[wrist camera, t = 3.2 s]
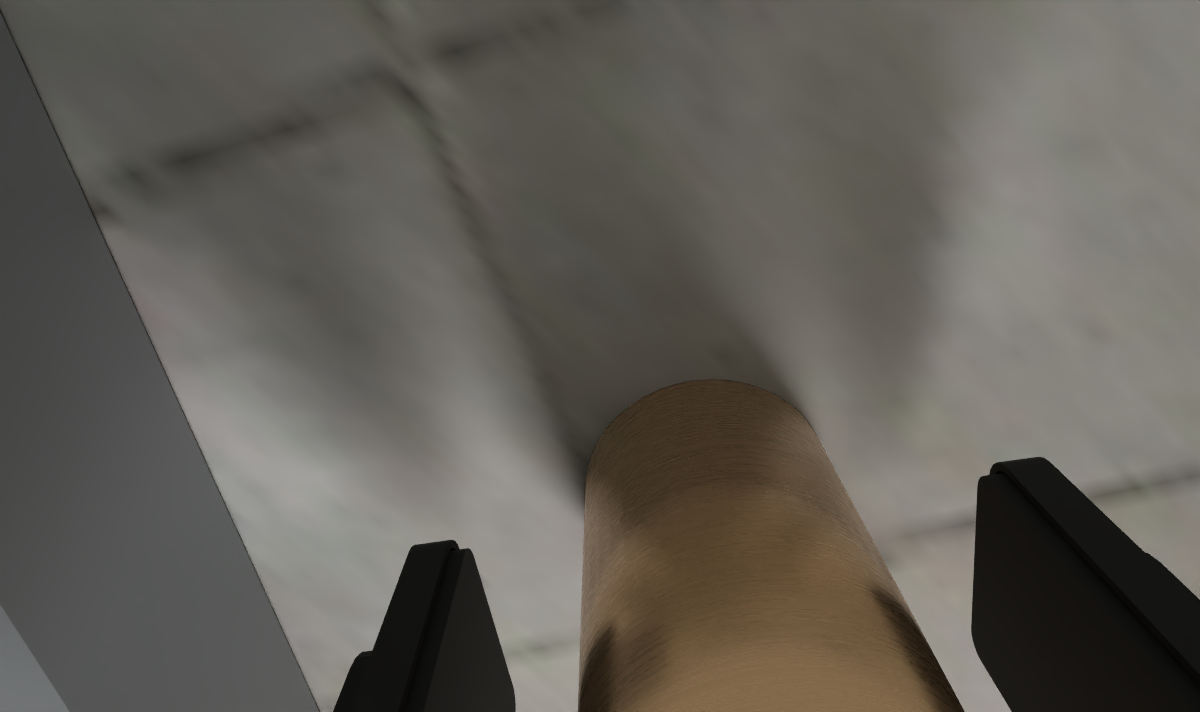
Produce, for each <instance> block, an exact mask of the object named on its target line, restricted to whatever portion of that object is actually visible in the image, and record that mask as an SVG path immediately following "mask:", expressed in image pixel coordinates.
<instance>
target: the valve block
mask: <svg viewBox="0 0 1200 712" xmlns="http://www.w3.org/2000/svg"><path fill="white" fill-rule="evenodd" d="M0 712H319V710H318V708H317V705H316V703H315V701H314V699H313V697H312V694H311V692H310V690H309V688H308V686H307V684H306V681H305V679H304V677H303V675H302V673H301V670H300V668H299V666H298V664H297V662H296V659H295V657H294V655H293V653H292V651H291V648H290V646H289V644H288V642H287V640H286V637H285V635H284V633H283V631H282V629H281V627H280V624H279V622H278V620H277V618H276V616H275V613H274V611H273V609H272V607H271V605H270V602H269V600H268V598H267V596H266V594H265V591H264V589H263V587H262V585H261V583H260V580H259V578H258V576H257V574H256V572H255V570H254V567H253V565H252V563H251V561H250V559H249V556H248V554H247V552H246V550H245V548H244V545H243V543H242V541H241V539H240V537H239V534H238V532H237V530H236V528H235V526H234V523H233V521H232V519H231V517H230V515H229V513H228V510H227V508H226V506H225V504H224V502H223V499H222V497H221V495H220V493H219V491H218V488H217V486H216V484H215V482H214V480H213V477H212V475H211V473H210V471H209V469H208V466H207V464H206V462H205V460H204V458H203V456H202V453H201V451H200V449H199V447H198V445H197V442H196V440H195V438H194V436H193V434H192V431H191V429H190V427H189V425H188V423H187V420H186V418H185V416H184V414H183V412H182V409H181V407H180V405H179V403H178V401H177V399H176V396H175V394H174V392H173V390H172V388H171V385H170V383H169V381H168V379H167V377H166V374H165V372H164V370H163V368H162V366H161V363H160V361H159V359H158V357H157V355H156V352H155V350H154V348H153V346H152V344H151V342H150V339H149V337H148V335H147V333H146V331H145V328H144V326H143V324H142V322H141V320H140V317H139V315H138V313H137V311H136V309H135V306H134V304H133V302H132V300H131V298H130V295H129V293H128V291H127V289H126V287H125V285H124V282H123V280H122V278H121V276H120V274H119V271H118V269H117V267H116V265H115V263H114V260H113V258H112V256H111V254H110V252H109V249H108V247H107V245H106V243H105V241H104V238H103V236H102V234H101V232H100V230H99V228H98V225H97V223H96V221H95V219H94V217H93V214H92V212H91V210H90V208H89V206H88V203H87V201H86V199H85V197H84V195H83V192H82V190H81V188H80V186H79V184H78V181H77V179H76V177H75V175H74V173H73V171H72V168H71V166H70V164H69V162H68V160H67V157H66V155H65V153H64V151H63V149H62V146H61V144H60V142H59V140H58V138H57V135H56V133H55V131H54V129H53V127H52V124H51V122H50V120H49V118H48V116H47V114H46V111H45V109H44V107H43V105H42V103H41V100H40V98H39V96H38V94H37V92H36V89H35V87H34V85H33V83H32V81H31V78H30V76H29V74H28V72H27V70H26V67H25V65H24V63H23V61H22V59H21V57H20V54H19V52H18V50H17V48H16V46H15V43H14V41H13V39H12V37H11V35H10V32H9V30H8V28H7V26H6V24H5V21H4V19H3V17H2V15H1V13H0Z"/></svg>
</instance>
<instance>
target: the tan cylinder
mask: <svg viewBox="0 0 1200 712" xmlns="http://www.w3.org/2000/svg"><path fill="white" fill-rule="evenodd" d="M578 712H964V710H963V708H962V706H961V704H960V702H959V700H958V698H957V697H956V695H955V693H954V691H953V689H952V687H951V685H950V684H949V682H948V680H947V678H946V676H945V674H944V672H943V671H942V669H941V667H940V665H939V663H938V661H937V659H936V657H935V656H934V654H933V652H932V650H931V648H930V646H929V644H928V643H927V641H926V639H925V637H924V635H923V633H922V631H921V629H920V628H919V626H918V624H917V622H916V620H915V618H914V616H913V615H912V613H911V611H910V609H909V607H908V605H907V603H906V601H905V600H904V598H903V596H902V594H901V592H900V590H899V588H898V587H897V585H896V583H895V581H894V579H893V577H892V575H891V574H890V572H889V570H888V568H887V566H886V564H885V562H884V560H883V559H882V557H881V555H880V553H879V551H878V549H877V547H876V546H875V544H874V542H873V540H872V538H871V536H870V534H869V532H868V531H867V529H866V527H865V525H864V523H863V521H862V519H861V518H860V516H859V514H858V512H857V510H856V508H855V506H854V505H853V503H852V501H851V499H850V497H849V495H848V493H847V491H846V490H845V488H844V486H843V484H842V482H841V480H840V478H839V477H838V475H837V473H836V471H835V469H834V467H833V465H832V463H831V462H830V460H829V458H828V456H827V454H826V452H825V450H824V449H823V447H822V445H821V443H820V441H819V439H818V437H817V435H816V434H815V432H814V430H813V429H812V428H811V426H810V425H809V423H808V422H807V420H806V419H805V418H804V417H803V416H802V415H801V414H800V413H799V412H798V411H797V410H796V409H795V408H793V407H792V406H791V405H790V404H788V403H787V402H786V401H784V400H783V399H781V398H779V397H778V396H776V395H774V394H772V393H770V392H768V391H766V390H763V389H761V388H758V387H756V386H752V385H748V384H745V383H741V382H734V381H727V380H700V381H690V382H686V383H681V384H676V385H673V386H670V387H667V388H664V389H661V390H658V391H656V392H654V393H652V394H650V395H648V396H646V397H644V398H642V399H640V400H639V401H637V402H636V403H634V404H633V405H631V406H630V407H628V408H627V409H626V410H625V411H624V412H622V413H621V414H620V415H619V416H618V417H617V418H616V419H615V420H614V421H613V422H612V423H611V424H610V425H609V426H608V428H607V429H606V430H605V432H604V433H603V435H602V436H601V437H600V439H599V441H598V443H597V445H596V447H595V448H594V450H593V453H592V455H591V458H590V461H589V464H588V469H587V475H586V488H585V518H584V547H583V577H582V606H581V635H580V665H579V694H578Z"/></svg>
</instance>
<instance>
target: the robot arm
mask: <svg viewBox="0 0 1200 712" xmlns="http://www.w3.org/2000/svg"><path fill="white" fill-rule="evenodd" d="M971 631H972V638H973V642H974V646H975V649H976V651H977V654H978V656H979V658H980V660H981V662H982V663H983V665H984V666H985V668H986V670H987V671H988V673H989V675H990V676H991V678H992V680H993V681H994V683H995V685H996V686H997V688H998V690H999V691H1000V693H1001V694H1002V696H1003V698H1004V699H1005V701H1006V703H1007V704H1008V706H1009V708H1010V709H1011V711H1012V712H1200V599H1198V598H1197V597H1196V596H1195V595H1194V594H1193V593H1192V592H1191V591H1190V590H1189V589H1188V588H1187V587H1186V586H1185V585H1184V584H1183V583H1182V582H1181V581H1179V580H1178V579H1177V578H1176V577H1175V576H1174V575H1173V574H1172V573H1171V572H1170V571H1169V570H1168V569H1167V568H1166V567H1165V566H1164V565H1163V564H1161V563H1160V562H1159V561H1158V560H1156V559H1155V558H1154V557H1152V556H1151V555H1150V554H1148V553H1145V552H1144V551H1143V550H1142V549H1141V548H1139V547H1138V546H1137V545H1136V544H1135V543H1134V542H1133V541H1132V540H1131V539H1130V538H1129V537H1128V536H1127V535H1126V534H1125V533H1124V532H1123V531H1122V530H1121V529H1120V528H1119V527H1117V526H1116V525H1115V524H1114V523H1113V522H1112V521H1111V520H1110V519H1109V518H1108V517H1107V516H1106V515H1105V514H1104V513H1103V512H1102V511H1101V510H1100V509H1099V508H1098V507H1097V506H1095V505H1094V504H1093V503H1092V502H1091V501H1090V500H1089V499H1088V498H1087V497H1086V496H1085V495H1084V494H1083V493H1082V492H1081V491H1080V490H1079V489H1078V488H1077V487H1076V486H1075V485H1073V484H1072V483H1071V482H1070V481H1069V480H1068V479H1067V478H1066V477H1065V476H1064V475H1063V474H1062V473H1061V472H1060V471H1059V470H1058V469H1057V468H1056V467H1055V466H1054V465H1053V464H1051V463H1050V462H1049V461H1048V460H1046V459H1045V458H1043V457H1034V458H1027V459H1019V460H1012V461H1005V462H998V463H995V464H994V465H993V466H992V468H991V469H990V475H987V476H982V477H980V479H979V481H978V489H977V511H976V534H975V557H974V579H973V602H972V624H971ZM333 712H515V694H514V689H513V685H512V681H511V678H510V675H509V671H508V668H507V665H506V662H505V658H504V655H503V652H502V648H501V645H500V642H499V638H498V635H497V632H496V628H495V625H494V622H493V618H492V615H491V612H490V608H489V605H488V602H487V598H486V595H485V592H484V588H483V585H482V582H481V578H480V575H479V572H478V569H477V565H476V562H475V559H474V556H473V553H472V551H471V550H470V549H468V548H467V549H459V546H458V544H457V543H456V542H455V541H454V540H447V541H440V542H433V543H426V544H419V545H414V546H412V547H411V549H410V551H409V553H408V556H407V558H406V561H405V564H404V567H403V569H402V572H401V575H400V577H399V580H398V583H397V586H396V588H395V591H394V594H393V596H392V599H391V602H390V605H389V607H388V610H387V613H386V615H385V618H384V621H383V624H382V626H381V629H380V632H379V634H378V637H377V640H376V642H375V645H374V648H373V651H367V652H362V653H360V654H359V655H358V656H357V657H356V658H355V660H354V662H353V664H352V666H351V668H350V670H349V672H348V675H347V678H346V680H345V683H344V685H343V688H342V690H341V693H340V695H339V698H338V700H337V703H336V706H335V708H334V711H333Z"/></svg>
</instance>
